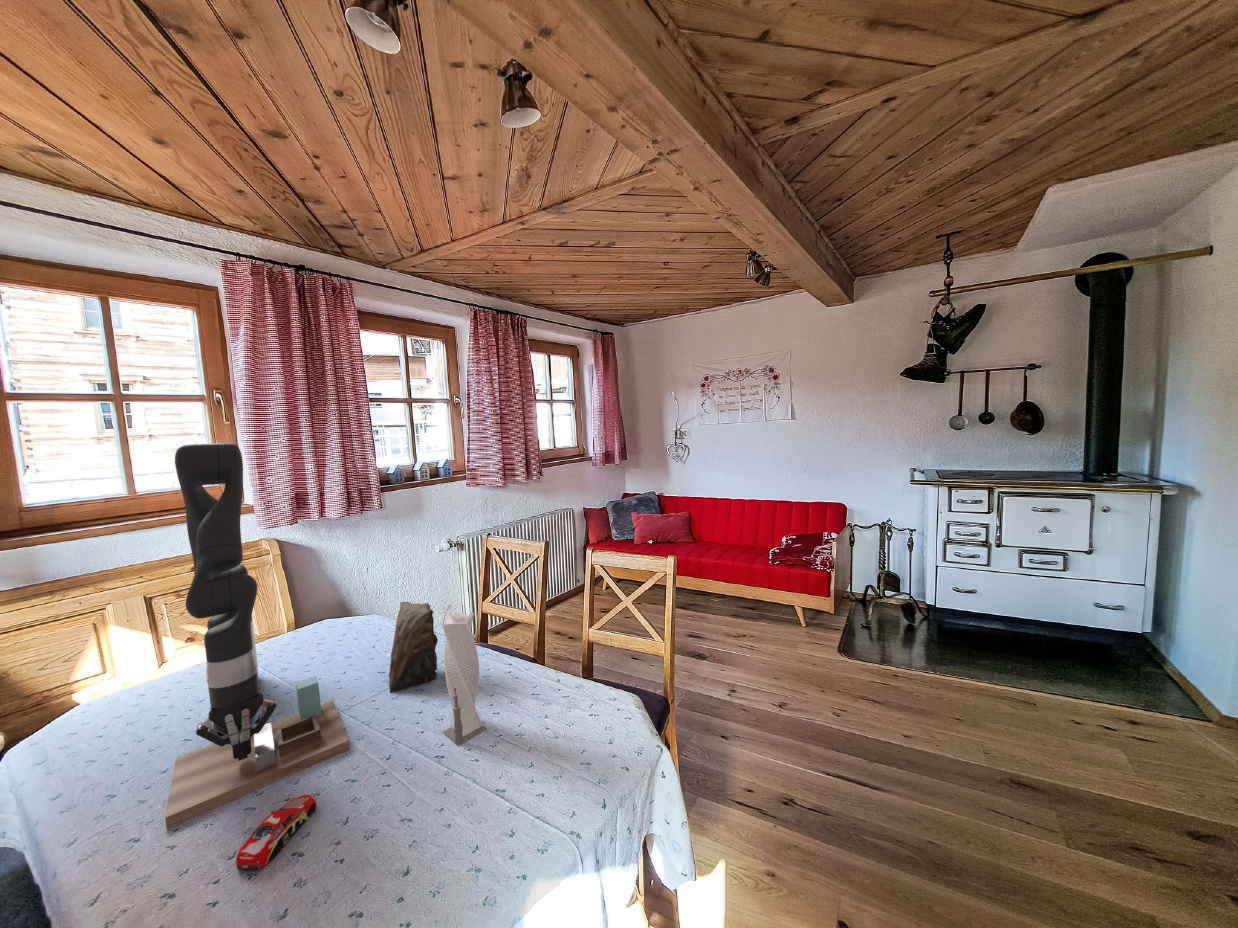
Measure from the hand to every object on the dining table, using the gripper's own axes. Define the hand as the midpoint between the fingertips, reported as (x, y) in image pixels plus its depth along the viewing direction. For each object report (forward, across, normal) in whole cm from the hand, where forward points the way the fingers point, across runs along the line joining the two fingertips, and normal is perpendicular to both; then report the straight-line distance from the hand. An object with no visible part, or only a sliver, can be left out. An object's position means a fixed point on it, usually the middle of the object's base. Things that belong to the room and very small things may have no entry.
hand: (243, 757), depth 92 cm
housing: (+3, -3, -2) cm, 5 cm away
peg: (+1, -12, -9) cm, 15 cm away
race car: (+4, -4, +24) cm, 25 cm away
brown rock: (+3, -35, -12) cm, 37 cm away
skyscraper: (+3, -38, +19) cm, 43 cm away
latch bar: (+1, -4, 0) cm, 4 cm away
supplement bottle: (+3, +2, -21) cm, 21 cm away
